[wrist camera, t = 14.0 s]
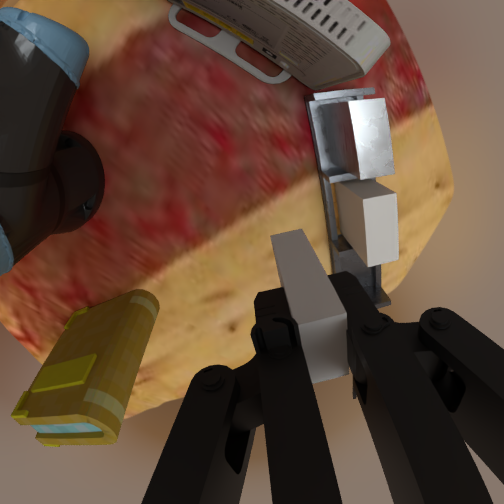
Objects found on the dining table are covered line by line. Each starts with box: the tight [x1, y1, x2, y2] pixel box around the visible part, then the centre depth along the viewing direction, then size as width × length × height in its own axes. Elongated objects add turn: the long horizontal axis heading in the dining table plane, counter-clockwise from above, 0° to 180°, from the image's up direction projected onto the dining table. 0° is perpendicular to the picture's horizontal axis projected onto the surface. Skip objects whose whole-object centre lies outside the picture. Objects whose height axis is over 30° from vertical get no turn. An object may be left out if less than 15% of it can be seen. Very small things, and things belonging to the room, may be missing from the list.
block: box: [334, 178, 399, 267], centre depth 37 cm, size 4×8×11 cm, turn 13°
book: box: [11, 289, 160, 447], centre depth 38 cm, size 17×7×25 cm, turn 112°
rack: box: [304, 88, 395, 309], centre depth 37 cm, size 8×31×12 cm, turn 13°
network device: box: [167, 0, 390, 91], centre depth 23 cm, size 26×9×20 cm, turn 54°
